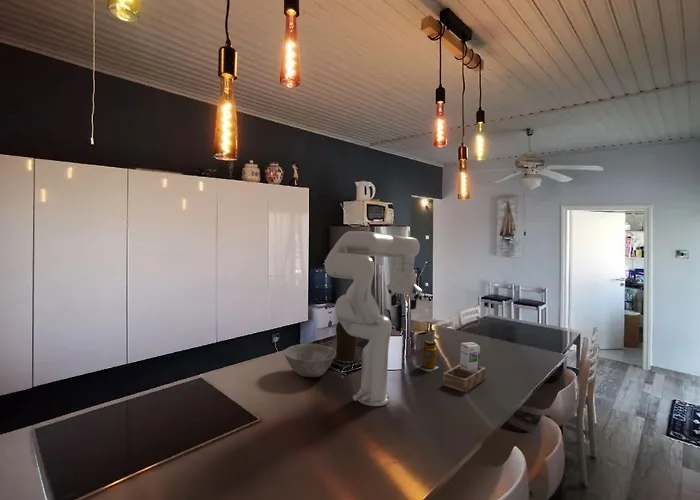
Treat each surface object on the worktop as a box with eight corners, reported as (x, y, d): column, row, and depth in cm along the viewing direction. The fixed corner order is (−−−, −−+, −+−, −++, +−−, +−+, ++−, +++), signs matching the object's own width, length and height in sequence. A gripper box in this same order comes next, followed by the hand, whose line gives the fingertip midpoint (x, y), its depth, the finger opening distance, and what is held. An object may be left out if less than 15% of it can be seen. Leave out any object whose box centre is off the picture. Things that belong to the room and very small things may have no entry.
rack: (465, 392, 149) (466, 380, 148) (442, 385, 155) (443, 373, 155) (485, 379, 163) (485, 368, 163) (463, 373, 170) (463, 362, 169)
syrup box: (467, 380, 159) (469, 346, 158) (459, 375, 164) (460, 342, 163) (478, 379, 160) (480, 345, 160) (470, 373, 166) (472, 341, 165)
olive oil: (360, 358, 184) (361, 307, 183) (352, 365, 174) (354, 312, 173) (339, 355, 188) (341, 305, 186) (331, 362, 178) (332, 309, 176)
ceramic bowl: (311, 390, 147) (312, 364, 146) (271, 374, 161) (272, 351, 160) (346, 373, 164) (347, 351, 164) (308, 361, 178) (308, 340, 178)
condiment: (439, 367, 176) (440, 342, 175) (428, 371, 170) (429, 345, 169) (426, 363, 181) (427, 338, 180) (415, 367, 175) (416, 341, 174)
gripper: (383, 265, 163) (381, 305, 164) (417, 269, 152) (416, 311, 152) (393, 264, 169) (391, 303, 170) (427, 268, 157) (425, 309, 158)
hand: (403, 307), depth 161 cm, fingers open, 9 cm apart
